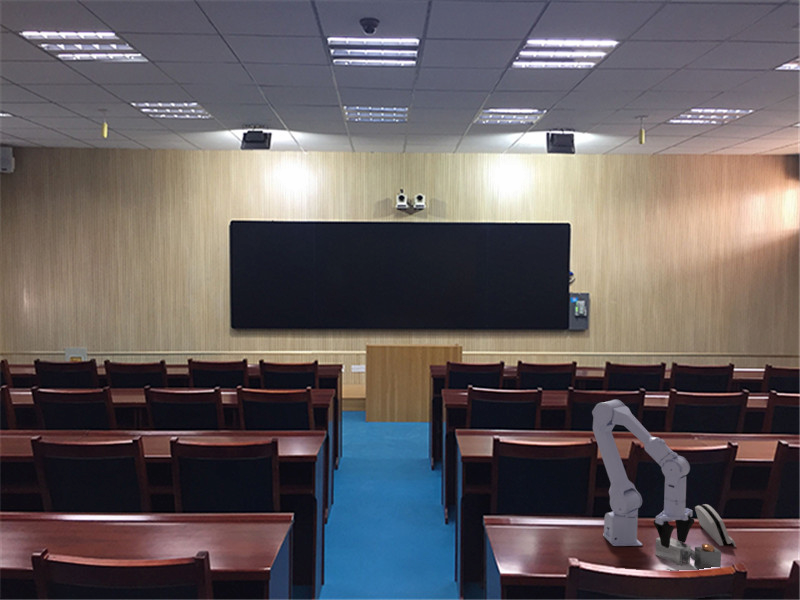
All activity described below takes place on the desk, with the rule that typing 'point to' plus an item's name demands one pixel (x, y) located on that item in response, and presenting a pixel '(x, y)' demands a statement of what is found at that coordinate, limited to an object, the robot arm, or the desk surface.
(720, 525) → the grey black curved block
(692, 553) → the coupler
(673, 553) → the lock
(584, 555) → the desk surface
